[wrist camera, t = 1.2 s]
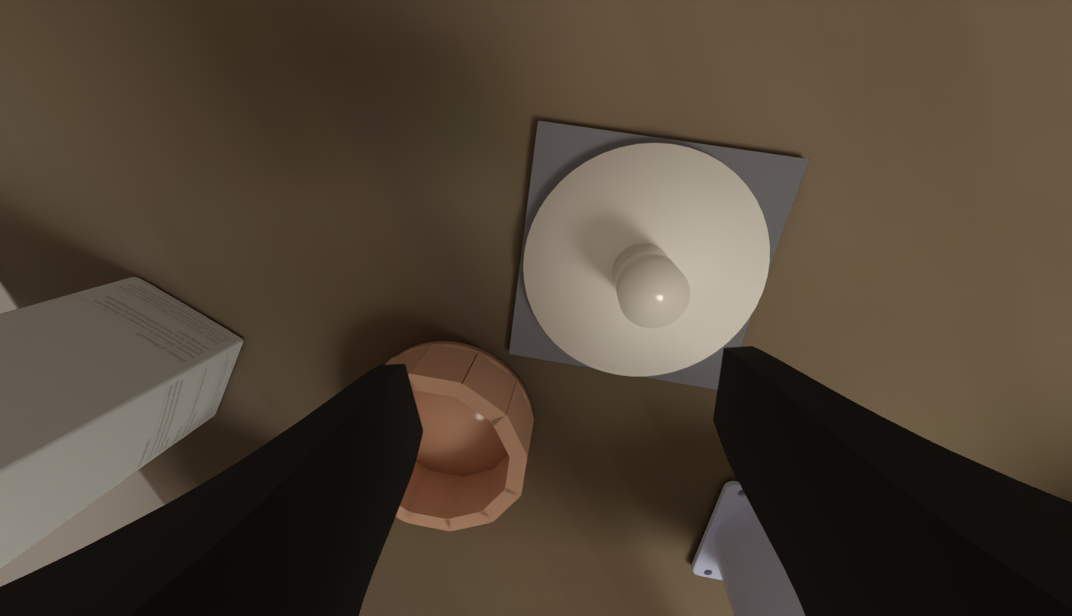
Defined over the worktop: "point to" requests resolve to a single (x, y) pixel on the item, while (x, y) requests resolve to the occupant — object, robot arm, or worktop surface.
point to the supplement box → (97, 397)
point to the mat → (575, 145)
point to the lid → (646, 259)
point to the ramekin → (465, 436)
